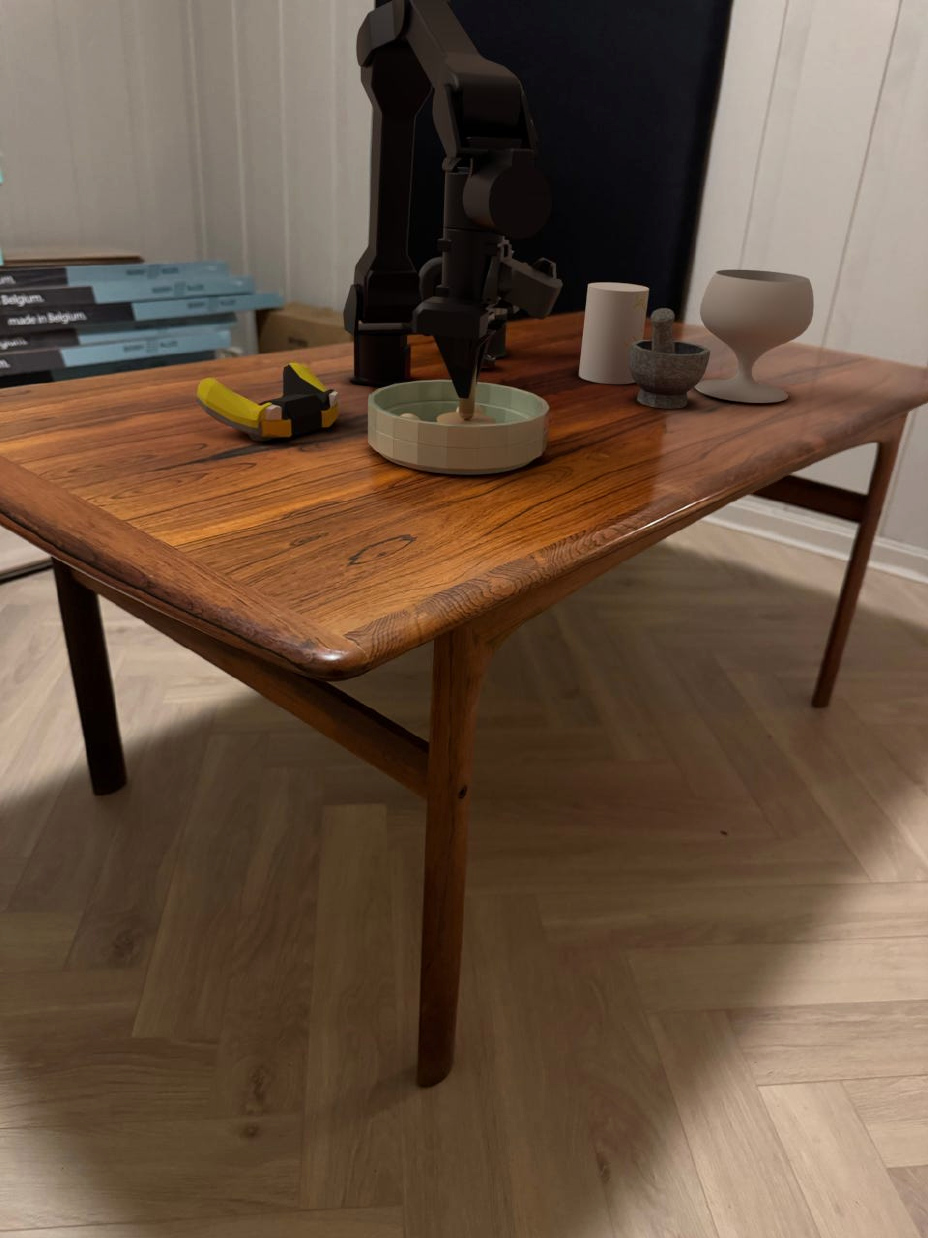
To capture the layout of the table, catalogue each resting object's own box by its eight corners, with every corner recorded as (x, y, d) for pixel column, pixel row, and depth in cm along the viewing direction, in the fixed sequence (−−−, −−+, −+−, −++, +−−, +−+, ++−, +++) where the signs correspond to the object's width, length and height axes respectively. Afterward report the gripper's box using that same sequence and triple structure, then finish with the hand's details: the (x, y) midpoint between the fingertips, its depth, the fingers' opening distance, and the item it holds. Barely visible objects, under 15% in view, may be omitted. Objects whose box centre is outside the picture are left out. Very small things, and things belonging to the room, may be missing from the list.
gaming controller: (191, 430, 97) (254, 451, 91) (186, 378, 94) (250, 396, 89) (298, 406, 107) (359, 423, 102) (296, 358, 105) (359, 373, 100)
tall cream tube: (636, 386, 124) (648, 293, 119) (576, 380, 126) (585, 288, 120) (638, 373, 132) (649, 285, 126) (581, 368, 133) (590, 280, 127)
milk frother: (486, 345, 145) (492, 244, 138) (545, 366, 133) (554, 256, 126) (406, 351, 138) (408, 245, 131) (460, 374, 126) (465, 258, 119)
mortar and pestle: (639, 389, 123) (651, 295, 117) (708, 400, 119) (724, 303, 114) (609, 406, 114) (622, 305, 109) (683, 419, 110) (699, 315, 105)
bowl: (342, 463, 89) (341, 412, 87) (400, 417, 105) (400, 373, 103) (525, 487, 86) (529, 435, 83) (557, 435, 101) (561, 390, 99)
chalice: (676, 396, 120) (694, 275, 113) (699, 376, 131) (718, 265, 125) (786, 413, 115) (812, 287, 108) (801, 391, 126) (826, 275, 119)
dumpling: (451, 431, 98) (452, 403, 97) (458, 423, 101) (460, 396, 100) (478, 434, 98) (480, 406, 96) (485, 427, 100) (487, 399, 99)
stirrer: (429, 439, 92) (432, 332, 88) (445, 424, 98) (449, 322, 93) (487, 446, 91) (493, 338, 86) (500, 430, 96) (507, 328, 92)
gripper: (541, 242, 76) (526, 428, 83) (575, 227, 92) (560, 384, 99) (412, 233, 78) (408, 415, 85) (467, 219, 94) (460, 373, 101)
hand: (466, 395), depth 93 cm, fingers closed on stirrer
